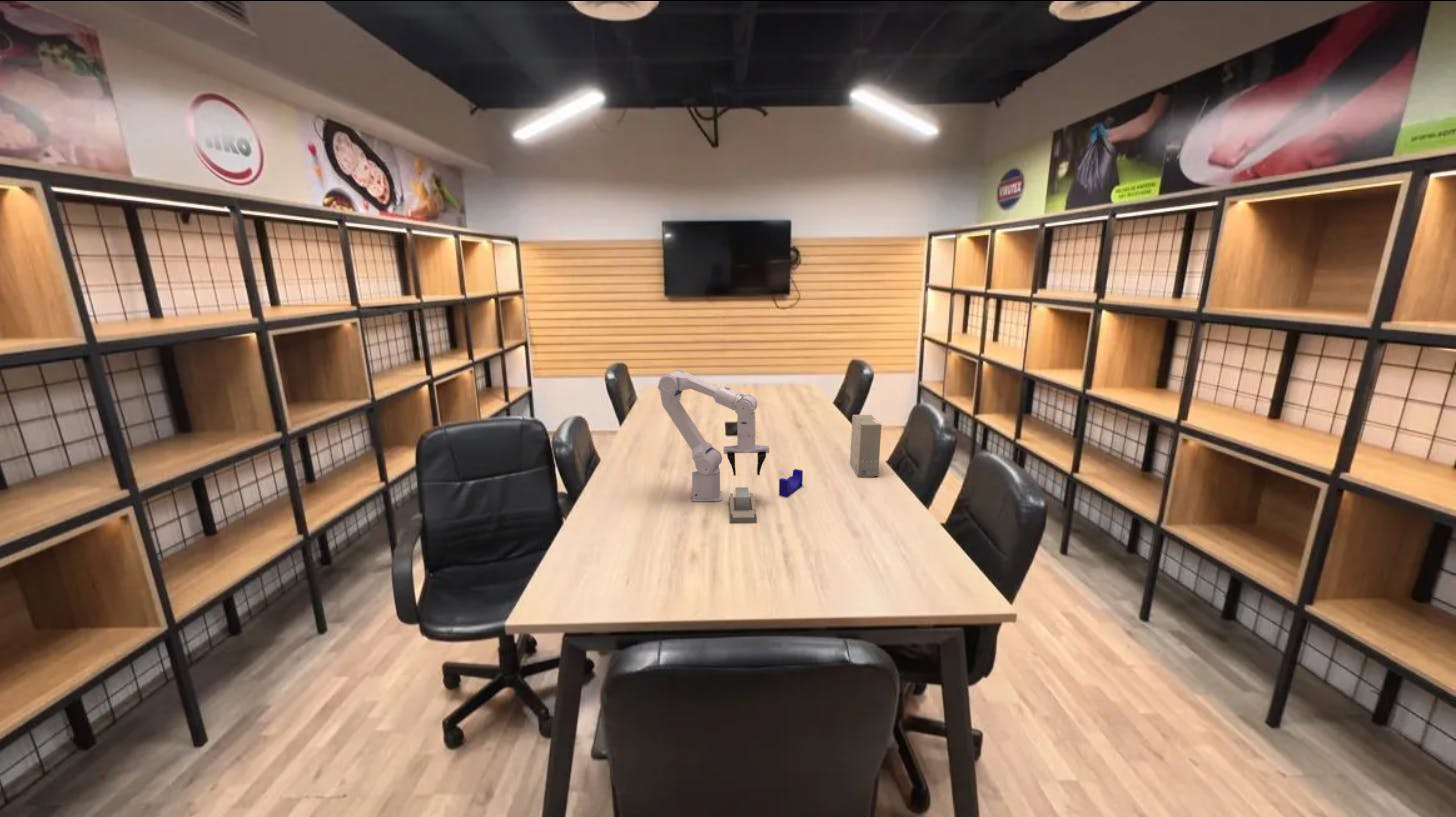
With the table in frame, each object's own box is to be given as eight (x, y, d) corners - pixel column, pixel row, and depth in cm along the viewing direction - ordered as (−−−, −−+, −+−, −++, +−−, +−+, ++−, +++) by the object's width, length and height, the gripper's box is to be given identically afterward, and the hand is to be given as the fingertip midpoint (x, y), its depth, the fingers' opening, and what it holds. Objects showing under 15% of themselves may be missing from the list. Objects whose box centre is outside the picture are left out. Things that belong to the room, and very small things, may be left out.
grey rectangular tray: (730, 523, 166) (730, 512, 165) (729, 501, 181) (729, 491, 181) (756, 522, 166) (756, 511, 165) (753, 501, 182) (753, 491, 181)
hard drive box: (878, 477, 202) (882, 424, 197) (857, 477, 202) (860, 424, 198) (868, 463, 217) (871, 414, 212) (849, 463, 217) (851, 414, 213)
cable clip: (790, 484, 197) (791, 468, 196) (802, 486, 195) (802, 470, 193) (774, 495, 187) (775, 478, 186) (787, 498, 185) (787, 481, 183)
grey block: (736, 512, 170) (736, 497, 168) (735, 502, 177) (735, 487, 176) (749, 512, 170) (749, 497, 168) (748, 502, 177) (748, 487, 176)
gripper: (723, 437, 172) (724, 479, 175) (770, 437, 172) (770, 478, 175) (723, 431, 179) (723, 471, 182) (768, 430, 179) (768, 470, 182)
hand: (746, 474), depth 179 cm, fingers open, 7 cm apart
